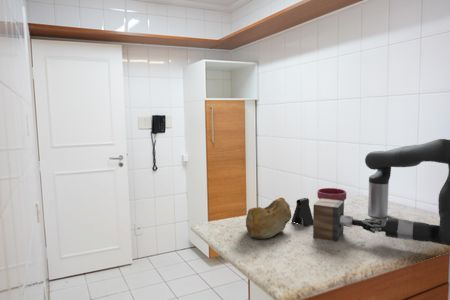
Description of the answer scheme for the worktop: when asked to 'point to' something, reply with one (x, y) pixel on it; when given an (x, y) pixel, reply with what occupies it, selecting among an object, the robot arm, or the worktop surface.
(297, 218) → the phone stand
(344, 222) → the peg
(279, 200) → the rough brown rock
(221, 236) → the worktop surface
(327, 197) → the plant pot
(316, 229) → the housing
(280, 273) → the worktop surface
